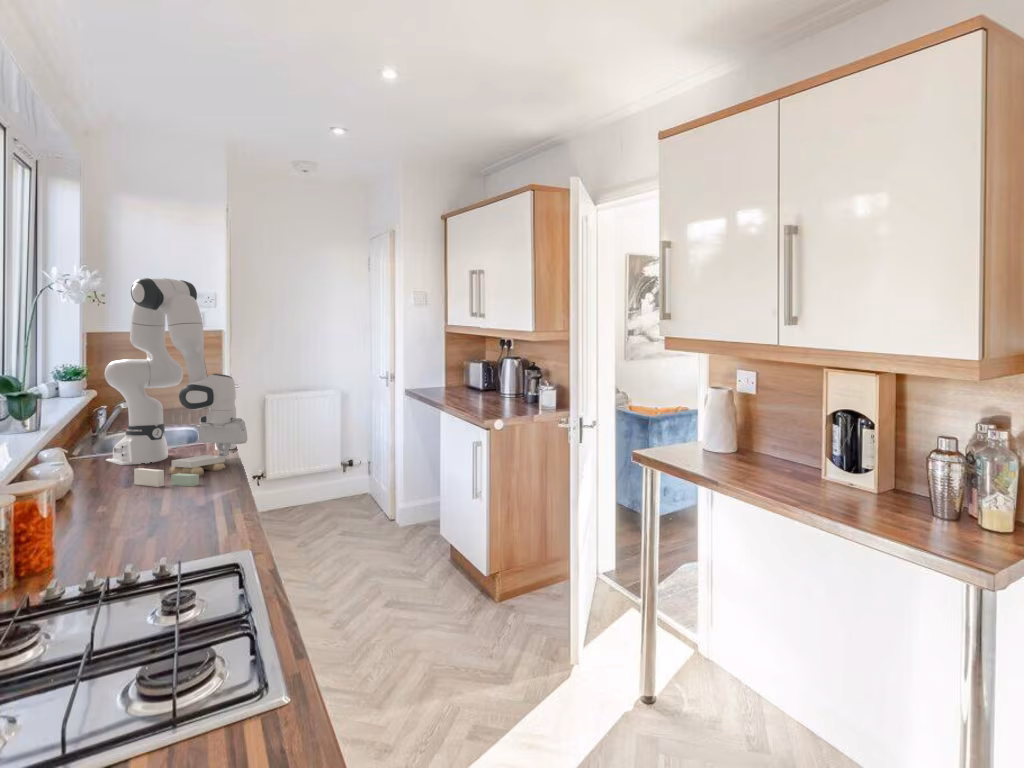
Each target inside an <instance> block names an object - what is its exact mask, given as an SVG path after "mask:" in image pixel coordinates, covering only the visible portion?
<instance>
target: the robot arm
mask: <svg viewBox="0 0 1024 768" xmlns="http://www.w3.org/2000/svg"><path fill="white" fill-rule="evenodd" d="M130 296H131V298H132V301H133V304H132V309H131V315H130V328H129V329H130V331H129V342H130V343H131V346H133V347H134V348H136V349H138V350H140V351H142V352H144V353H145V354H146V358H145V359H136V358H135V359H134V358H132V359H131V358H125V359H119V360H113V361H111V362H109V363H108V364H107V365H106V367H105V370H104V379H105V381H106V382H107V384H108V385H109V386H110V387H112V388H114V389H115V390H116V391H118V393H120V394H121V396H123V397H122V398H124V400H125V402H126V406H127V412H128V414H127V415H128V425H127V426H125V427H124V431H125V436H123V438H122V439H121V440H119V441H118V442H117V443H116V444H115V445H114V446H113V448H112V458H106V459H105V461H106V462H108V463H109V462H110V463H112V464H116V465H120V466H130V465H142V464H141V463H145V464H151V463H150V462H152V463H156V462H161V461H163V460H166V459H168V457H169V452H168V451H169V450H168V443H167V437H166V436H165V435H164V434H165V430H166V427H165V423H164V406H163V404H162V402H160V400H158V399H157V398H154V397H151V396H149V395H148V394H147V392H146V389H162V388H163V389H165V388H170V387H175V386H176V387H177V386H178V385H180V383H181V382H182V380H183V378H184V369H183V366H181V364H180V363H179V362H178V361H176V360H175V359H174V358H173V357H172V356H171V354H170V353H169V351H168V349H167V346H166V322H167V330H168V334H169V339H170V341H171V343H172V345H173V346H174V348H175V349H176V350H177V351H178V352H179V353H180V354H181V355H182V357H183V359H184V361H185V366H186V370H187V371H186V372H187V376H188V384H186V385H185V386H183V387H182V388H181V390H180V392H179V395H178V400H179V403H180V404H181V405H182V406H183V407H184V408H186V409H188V410H192V411H195V410H196V411H197V410H198V411H199V410H201V411H202V410H207V409H209V413H207V414H205V415H202V416H200V417H199V418H198V422H199V423H200V424H199V430H198V434H199V436H198V438H199V441H200V442H201V443H208V444H215V443H216V447H217V449H218V450H217V451H218V456H227V455H229V453H230V452H229V451H230V450H231V449H230V447H231V444H236V445H242V444H247V442H248V433H247V432H248V431H247V426H246V422H245V420H244V419H243V418H239V417H238V418H237V407H236V398H237V396H236V394H237V391H236V383H235V379H234V378H233V377H232V376H230V375H226V374H221V373H212V374H209V376H208V374H207V373H208V372H207V367H206V361H205V355H204V354H205V353H204V348H205V347H204V346H205V345H204V343H205V342H204V341H205V338H204V325H203V324H204V323H203V319H202V314H201V310H200V308H199V305H198V302H197V299H198V291H197V289H196V286H194V284H193V283H191V282H189V281H185V280H182V279H180V280H177V279H173V278H149V277H144V278H140V279H139V278H138V279H136V280H135V281H134V282H133V283H132V285H131V287H130ZM166 320H167V321H166ZM223 445H224V446H225V448H224V449H223ZM229 449H230V450H229Z"/></svg>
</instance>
